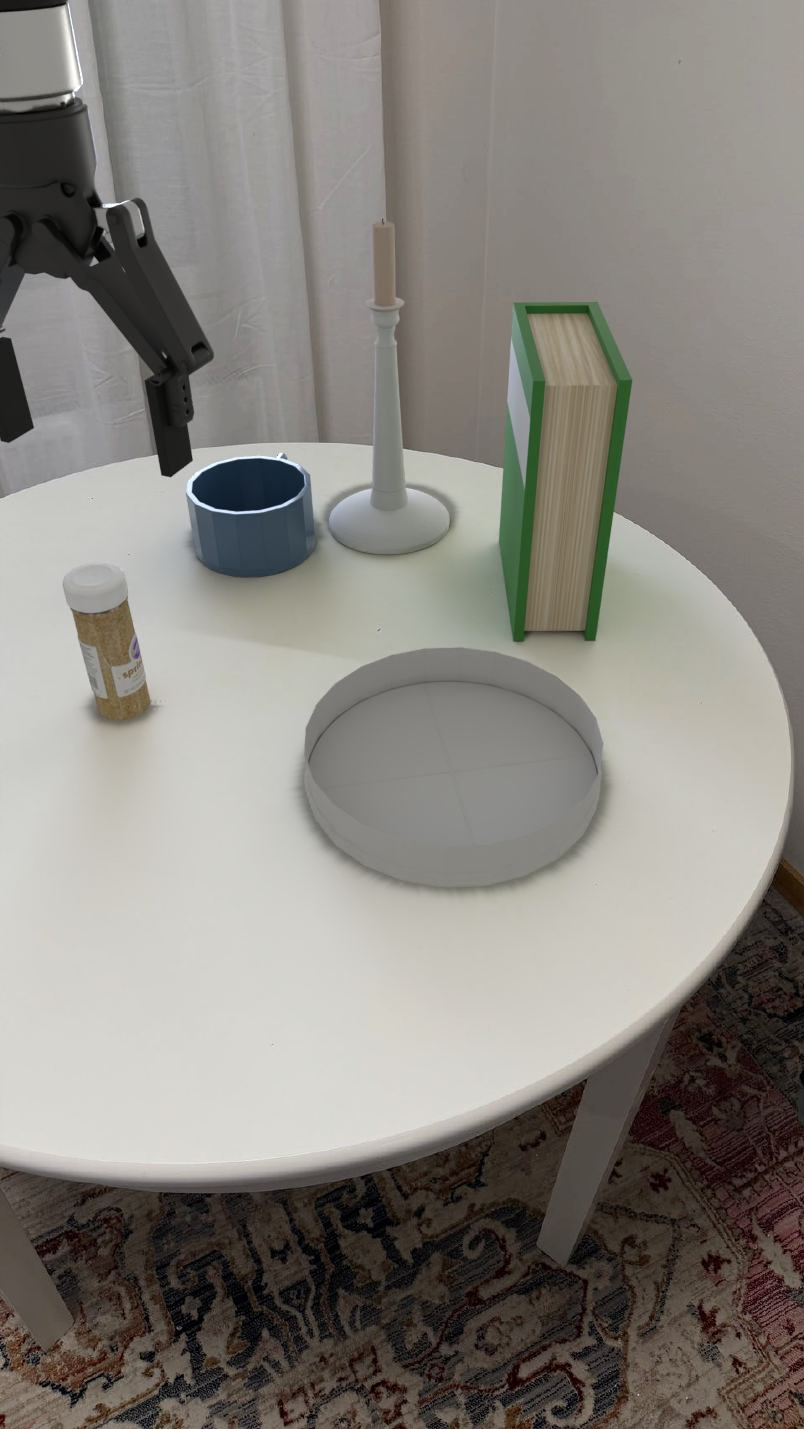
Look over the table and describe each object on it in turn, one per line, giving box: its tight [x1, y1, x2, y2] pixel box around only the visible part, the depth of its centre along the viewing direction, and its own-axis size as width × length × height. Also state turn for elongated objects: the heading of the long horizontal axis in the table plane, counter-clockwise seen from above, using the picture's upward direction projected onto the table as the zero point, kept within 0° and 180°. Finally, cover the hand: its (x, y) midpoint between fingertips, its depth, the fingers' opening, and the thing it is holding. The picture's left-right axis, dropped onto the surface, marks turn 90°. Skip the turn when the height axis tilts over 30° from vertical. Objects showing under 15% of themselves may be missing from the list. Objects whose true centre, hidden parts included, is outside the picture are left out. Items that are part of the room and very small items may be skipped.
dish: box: [303, 647, 604, 888], centre depth 75 cm, size 22×22×5 cm
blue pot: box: [185, 452, 316, 578], centre depth 103 cm, size 15×12×7 cm
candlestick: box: [328, 218, 451, 555], centre depth 97 cm, size 13×13×30 cm
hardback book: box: [498, 301, 633, 642], centre depth 90 cm, size 18×7×24 cm, turn 0°
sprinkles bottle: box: [62, 561, 151, 721], centre depth 79 cm, size 5×5×13 cm
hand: (95, 451), depth 70 cm, fingers open, 13 cm apart
